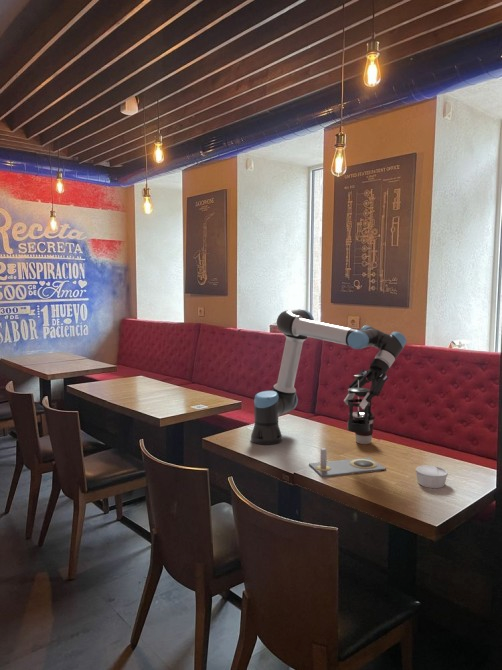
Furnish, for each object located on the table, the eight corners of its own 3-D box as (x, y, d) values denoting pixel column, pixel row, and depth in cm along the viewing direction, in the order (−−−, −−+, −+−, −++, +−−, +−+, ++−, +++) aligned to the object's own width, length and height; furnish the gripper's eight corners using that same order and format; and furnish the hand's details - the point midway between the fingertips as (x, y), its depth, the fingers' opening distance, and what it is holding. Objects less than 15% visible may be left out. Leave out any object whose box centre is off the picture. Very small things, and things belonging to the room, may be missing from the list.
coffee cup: (358, 437, 243) (358, 408, 242) (377, 441, 238) (377, 410, 236) (349, 443, 235) (350, 412, 234) (369, 446, 230) (369, 415, 228)
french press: (357, 434, 198) (357, 377, 196) (341, 429, 206) (340, 374, 204) (377, 429, 204) (377, 374, 202) (361, 424, 212) (361, 371, 210)
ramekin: (453, 487, 182) (454, 474, 181) (427, 491, 179) (428, 477, 178) (434, 476, 192) (434, 463, 192) (409, 480, 189) (409, 466, 189)
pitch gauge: (308, 465, 206) (309, 444, 205) (369, 458, 213) (369, 439, 212) (322, 477, 192) (322, 455, 191) (386, 470, 199) (386, 449, 199)
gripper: (405, 372, 201) (377, 415, 195) (368, 365, 220) (341, 405, 213) (396, 360, 198) (367, 404, 192) (359, 355, 217) (331, 395, 210)
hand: (353, 405), depth 202 cm, fingers closed on french press, 9 cm apart
